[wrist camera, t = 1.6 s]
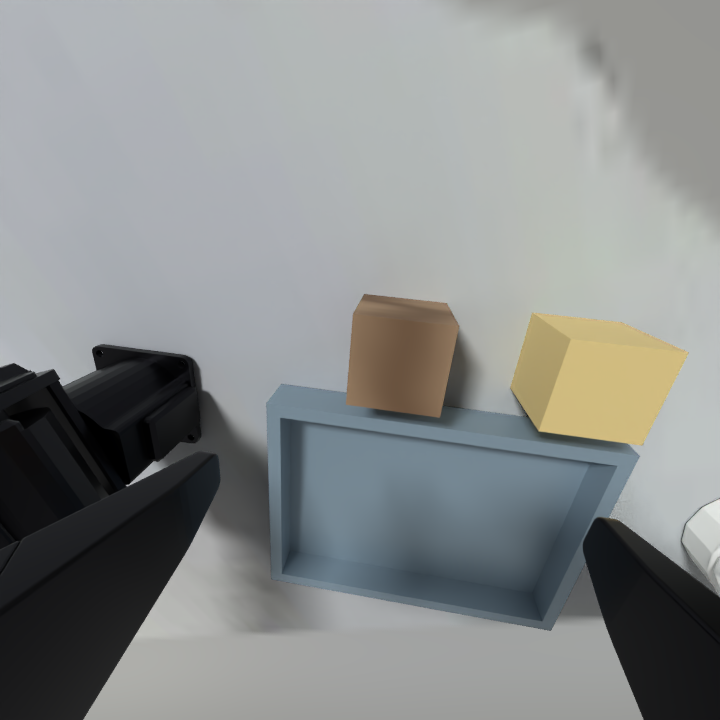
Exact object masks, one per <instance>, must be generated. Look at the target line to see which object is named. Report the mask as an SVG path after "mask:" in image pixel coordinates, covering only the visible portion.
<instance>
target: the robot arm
mask: <svg viewBox="0 0 720 720" xmlns="http://www.w3.org/2000/svg"><path fill="white" fill-rule="evenodd" d="M101 351H102V352H103V353H102V352H101ZM92 353H93V357H94V361H95V365H96V371H94V372H92V373H90V374H88V375H86V376H84V377H82V378H80V379H77V380H75V381H73V382H71V383H69V384H67V385H65V386H63V387H62V385H61V384H60V382H59V381H58V380H59V379H60V378H59V376H58V375H57V373H56V372H55V370H54V369H51V370H48V371H44V372H40V373H36V374H35V372H32V371H31V370H30V371H28V370H26V369H24V368H22V367H20V366H18V365H17V364H15V363H13V364H9V365H6V366H2V367H0V720H83V719H84V717H85V716H86V714H87V713H88V711H89V709H90V708H91V706H92V704H93V703H94V701H95V700H96V698H97V696H98V695H99V693H100V691H101V690H102V688H103V686H104V685H105V683H106V682H107V680H108V678H109V677H110V675H111V673H112V672H113V670H114V669H115V667H116V665H117V664H118V662H119V661H120V659H121V657H122V656H123V654H124V653H125V651H126V649H127V647H128V646H129V644H130V643H131V641H132V640H133V638H134V636H135V635H136V633H137V631H138V630H139V628H140V627H141V625H142V623H143V622H144V620H145V618H146V617H147V615H148V614H149V612H150V610H151V609H152V607H153V605H154V604H155V602H156V601H157V599H158V597H159V596H160V594H161V593H162V591H163V589H164V588H165V586H166V584H167V583H168V581H169V580H170V578H171V576H172V575H173V573H174V571H175V570H176V568H177V567H178V565H179V563H180V562H181V560H182V558H183V557H184V555H185V553H186V552H187V550H188V548H189V546H190V544H191V543H192V541H193V539H194V537H195V535H196V533H197V531H198V529H199V527H200V525H201V523H202V520H203V518H204V516H205V514H206V512H207V510H208V508H209V506H210V504H211V502H212V500H213V498H214V496H215V494H216V492H217V490H218V488H219V485H220V469H219V459H218V455H217V454H216V453H213V452H207V451H199V452H197V453H195V454H193V455H191V456H189V457H187V458H185V459H183V460H181V461H179V462H176V463H174V464H172V465H170V466H168V467H166V468H164V469H162V470H160V471H158V472H156V473H154V474H152V475H150V476H148V477H146V478H144V479H142V480H140V481H138V482H136V483H134V484H132V485H130V486H128V487H127V486H126V485H129V484H130V483H131V482H132V481H133V480H134V479H135V478H136V477H137V476H138V475H140V474H141V473H142V472H143V471H144V470H145V469H146V468H147V467H148V466H149V465H150V464H151V463H152V462H153V461H157V462H159V461H160V460H161V459H163V458H164V457H165V456H166V455H167V454H168V453H169V452H170V451H171V450H172V449H173V448H174V447H175V446H176V445H177V444H178V443H179V442H186V443H196V442H197V441H198V440H199V439H200V438H201V430H200V414H199V406H198V397H197V391H196V389H195V380H194V372H193V364H192V360H191V359H190V358H189V357H188V356H186V355H181V354H174V353H166V352H158V351H151V350H143V349H135V348H128V347H120V346H112V345H105V344H100V345H98V346H95V347H94V348H93V349H92ZM181 361H183V362H184V364H185V365H183V364H182V363H181ZM192 435H193V436H194V437H193V436H192ZM583 554H584V557H585V560H586V564H587V567H588V570H589V573H590V577H591V580H592V583H593V586H594V590H595V593H596V596H597V599H598V603H599V606H600V609H601V612H602V616H603V618H604V621H605V624H606V627H607V630H608V633H609V635H610V638H611V640H612V643H613V646H614V648H615V650H616V653H617V655H618V658H619V660H620V663H621V665H622V668H623V670H624V673H625V675H626V677H627V680H628V682H629V685H630V687H631V690H632V692H633V695H634V697H635V699H636V702H637V704H638V707H639V709H640V712H641V714H642V717H643V719H644V720H720V597H719V596H718V595H716V594H715V593H714V592H712V591H711V590H710V589H708V588H707V587H706V586H705V585H703V584H702V583H701V582H699V581H698V580H697V579H695V578H694V577H693V576H691V575H690V574H689V573H687V572H686V571H685V570H683V569H682V568H681V567H680V566H678V565H677V564H676V563H674V562H673V561H672V560H670V559H669V558H668V557H666V556H665V555H664V554H662V553H661V552H660V551H658V550H657V549H656V548H654V547H653V546H652V545H651V544H649V543H648V542H647V541H645V540H644V539H643V538H641V537H640V536H639V535H637V534H636V533H635V532H633V531H632V530H631V529H630V528H628V527H627V526H626V525H624V524H623V523H622V522H620V521H618V520H616V519H611V518H605V517H597V518H595V519H594V521H593V522H592V524H591V526H590V528H589V530H588V532H587V534H586V536H585V538H584V541H583Z"/></svg>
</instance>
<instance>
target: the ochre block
mask: <svg viewBox="0 0 720 720" xmlns="http://www.w3.org/2000/svg"><path fill="white" fill-rule="evenodd" d="M688 353H689V352H686V351H684V350H682V349H680V348H678V347H675V346H673V345H671V344H669V343H666V342H664V341H662V340H660V339H657V338H655V337H653V336H651V335H649V334H646V333H644V332H642V331H640V330H637V329H635V328H633V327H631V326H628V325H626V324H624V323H622V322H613V321H604V320H595V319H586V318H577V317H567V316H558V315H549V314H540V313H532V315H531V319H530V322H529V326H528V329H527V333H526V336H525V339H524V343H523V346H522V350H521V353H520V356H519V360H518V363H517V367H516V370H515V373H514V377H513V380H512V384H511V387H510V388H511V390H512V391H513V393H514V394H515V396H516V397H517V399H518V400H519V402H520V403H521V405H522V407H523V408H524V410H525V411H526V413H527V414H528V416H529V417H530V419H531V420H532V422H533V423H534V425H535V426H536V428H537V429H538V431H540V432H548V433H555V434H562V435H569V436H577V437H584V438H591V439H599V440H606V441H613V442H620V443H628V444H635V445H643V443H644V441H645V439H646V437H647V435H648V433H649V431H650V429H651V427H652V425H653V423H654V421H655V419H656V417H657V415H658V413H659V411H660V409H661V407H662V405H663V403H664V401H665V399H666V397H667V395H668V393H669V391H670V389H671V387H672V385H673V383H674V381H675V379H676V377H677V375H678V373H679V371H680V369H681V367H682V365H683V363H684V361H685V359H686V357H687V355H688Z"/></svg>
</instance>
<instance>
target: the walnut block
mask: <svg viewBox="0 0 720 720" xmlns="http://www.w3.org/2000/svg"><path fill="white" fill-rule="evenodd" d="M458 329H459V325H458V323H457V321H456V320H455V318H454V316H453V314H452V312H451V310H450V308H449V307H448V305H447V303H440V302H431V301H422V300H413V299H404V298H395V297H386V296H377V295H368V294H364V296H363V297H362V299H361V301H360V303H359V304H358V306H357V308H356V310H355V312H354V313H353V321H352V334H351V347H350V359H349V372H348V385H347V397H346V405H351V406H359V407H366V408H373V409H380V410H388V411H395V412H402V413H409V414H417V415H424V416H431V417H438V418H440V415H441V411H442V406H443V401H444V396H445V392H446V387H447V382H448V377H449V372H450V368H451V363H452V358H453V353H454V349H455V344H456V339H457V334H458Z"/></svg>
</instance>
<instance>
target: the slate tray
mask: <svg viewBox="0 0 720 720" xmlns="http://www.w3.org/2000/svg"><path fill="white" fill-rule="evenodd" d="M346 397H347V393H344V392H336V391H329V390H322V389H314V388H307V387H299V386H292V385H285V384H281V385H280V387H279V388H278V389H277V390H276V392H275V393H274V394H273V396H272V397H271V398H270V400H269V401H268V402H267V403H266V408H267V443H268V479H269V514H270V549H271V579H272V580H278V581H283V582H289V583H294V584H300V585H305V586H310V587H316V588H321V589H327V590H332V591H338V592H343V593H348V594H354V595H359V596H365V597H370V598H376V599H381V600H386V601H392V602H397V603H403V604H408V605H414V606H419V607H424V608H430V609H435V610H441V611H446V612H452V613H457V614H462V615H468V616H473V617H479V618H484V619H490V620H495V621H500V622H506V623H511V624H517V625H522V626H528V627H534V628H538V629H544V630H549V631H551V630H552V627H553V626H554V624H555V622H556V620H557V618H558V616H559V614H560V612H561V610H562V608H563V606H564V604H565V602H566V600H567V598H568V596H569V594H570V592H571V590H572V588H573V586H574V584H575V582H576V580H577V578H578V577H579V575H580V573H581V571H582V569H583V567H584V565H585V563H586V560H585V557H584V554H583V541H584V538H585V536H586V534H587V532H588V530H589V528H590V526H591V524H592V522H593V521H594V519H595V518H597V517H605V518H609V516H610V514H611V512H612V510H613V508H614V506H615V504H616V502H617V500H618V498H619V496H620V494H621V492H622V490H623V488H624V486H625V484H626V482H627V480H628V478H629V476H630V474H631V473H632V471H633V469H634V467H635V465H636V463H637V461H638V459H639V457H640V456H639V455H638V454H637V453H636V452H635V451H634V450H633V449H632V448H631V447H630V446H629V445H628V444H627V443H620V442H613V441H606V440H599V439H591V438H584V437H577V436H569V435H562V434H555V433H548V432H540V431H538V429H537V428H536V426H535V425H534V423H533V422H532V420H531V419H530V418H529V417H522V416H514V415H507V414H500V413H492V412H485V411H477V410H470V409H462V408H455V407H448V406H442V411H441V415H440V418H438V417H431V416H424V415H417V414H409V413H402V412H395V411H388V410H380V409H373V408H366V407H359V406H351V405H346Z"/></svg>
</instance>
